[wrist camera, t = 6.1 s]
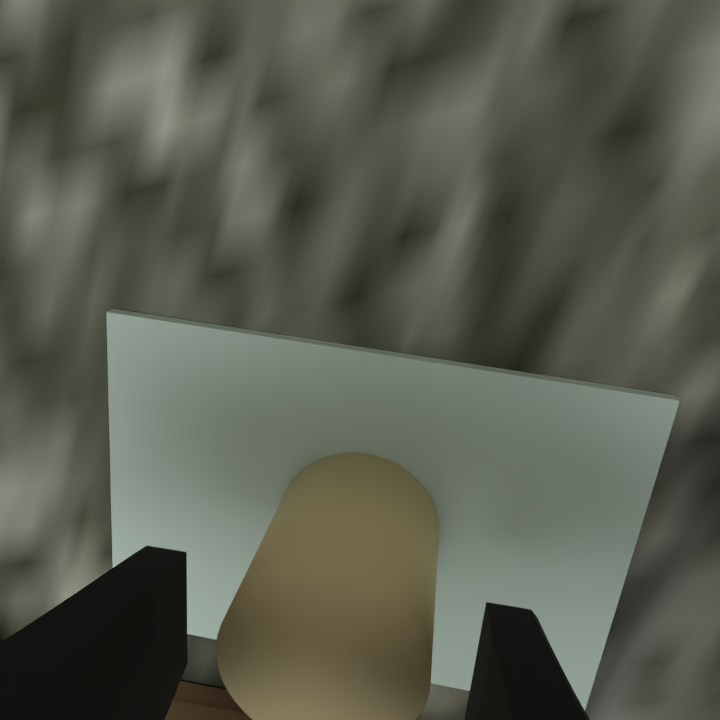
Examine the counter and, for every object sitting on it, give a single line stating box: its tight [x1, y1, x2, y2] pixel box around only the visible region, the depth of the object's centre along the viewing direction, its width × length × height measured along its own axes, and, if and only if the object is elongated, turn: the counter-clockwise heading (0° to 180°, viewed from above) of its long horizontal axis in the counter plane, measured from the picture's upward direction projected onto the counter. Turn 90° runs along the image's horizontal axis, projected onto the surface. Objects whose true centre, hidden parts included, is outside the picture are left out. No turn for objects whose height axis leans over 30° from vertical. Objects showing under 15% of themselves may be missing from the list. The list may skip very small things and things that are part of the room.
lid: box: [106, 309, 680, 720], centre depth 11 cm, size 10×7×4 cm
